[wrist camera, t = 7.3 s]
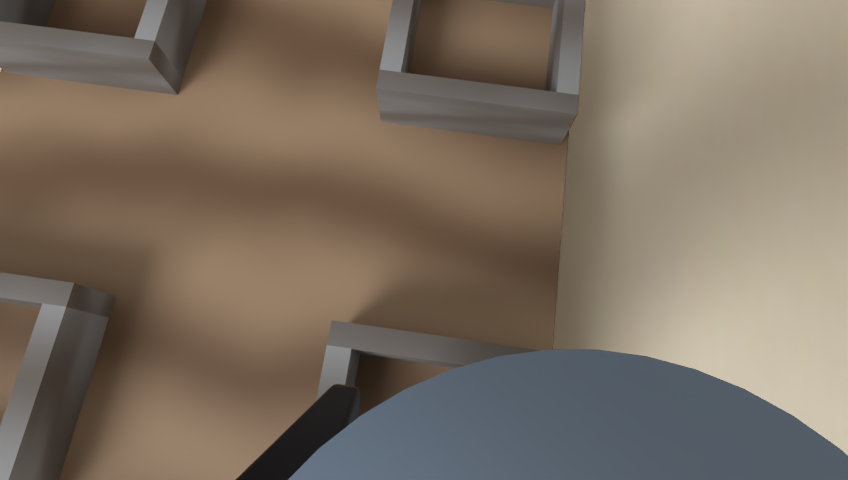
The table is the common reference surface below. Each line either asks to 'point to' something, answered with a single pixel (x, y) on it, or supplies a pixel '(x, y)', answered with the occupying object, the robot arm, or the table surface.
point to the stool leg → (575, 427)
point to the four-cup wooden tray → (265, 215)
